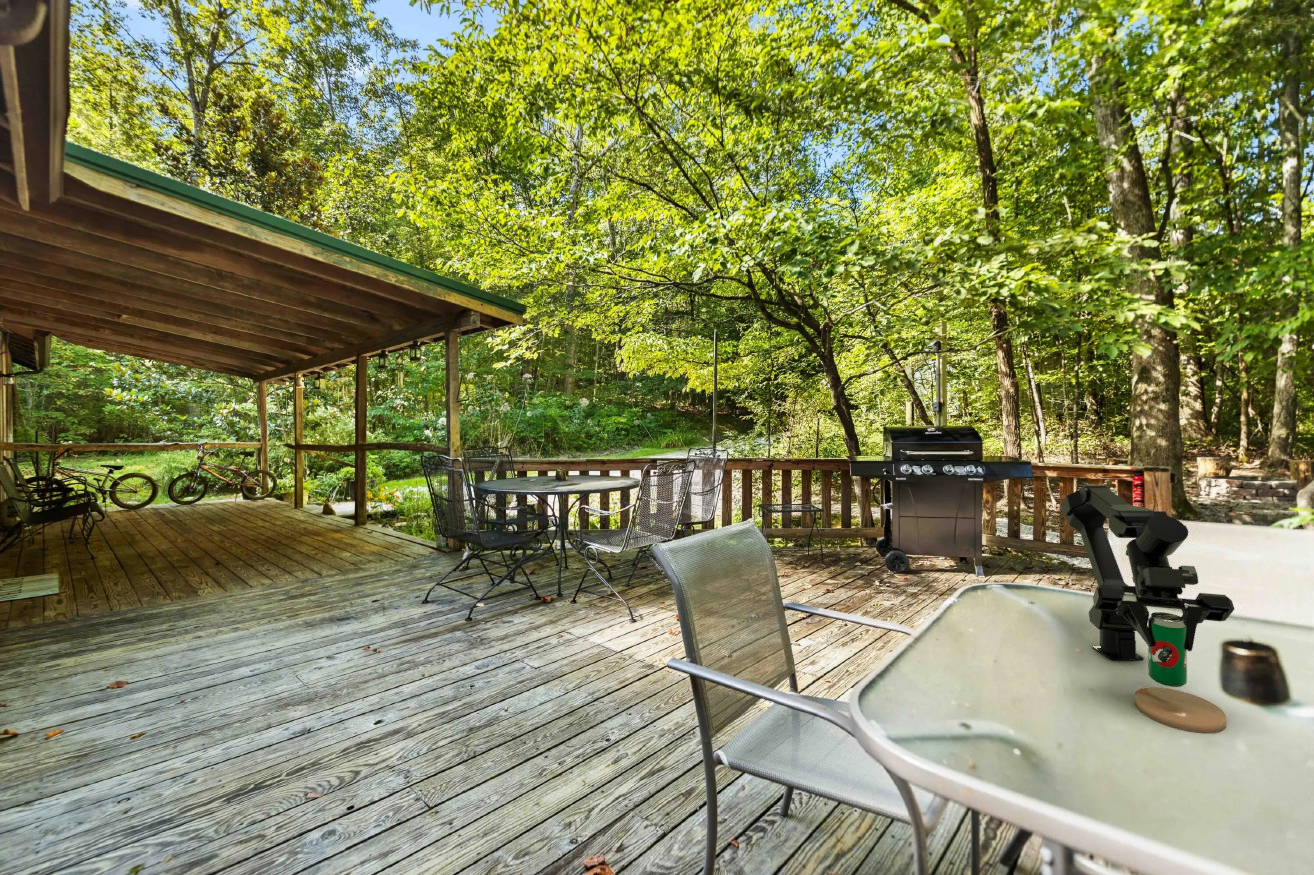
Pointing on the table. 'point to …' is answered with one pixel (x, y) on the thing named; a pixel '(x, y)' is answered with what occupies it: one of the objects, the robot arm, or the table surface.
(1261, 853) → the table surface
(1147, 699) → the terracotta plate
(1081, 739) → the table surface
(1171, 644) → the soda can
